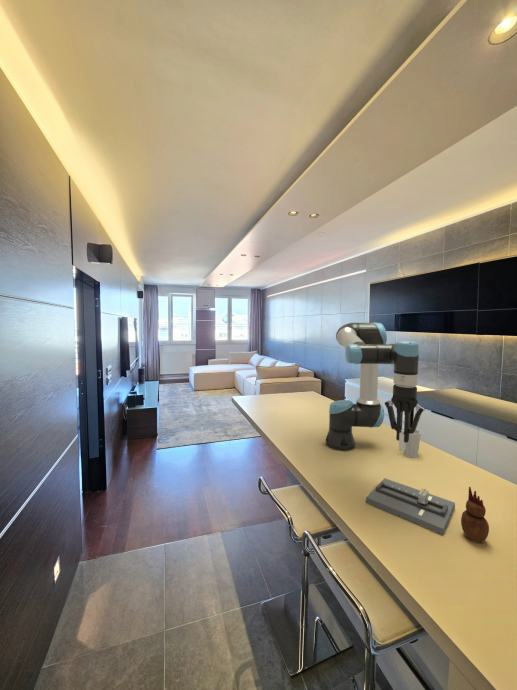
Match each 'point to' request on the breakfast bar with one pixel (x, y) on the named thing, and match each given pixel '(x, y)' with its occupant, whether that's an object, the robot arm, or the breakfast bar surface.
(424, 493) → the fader
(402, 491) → the console
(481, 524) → the wooden figurine
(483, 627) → the breakfast bar surface
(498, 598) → the breakfast bar surface
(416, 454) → the cup
